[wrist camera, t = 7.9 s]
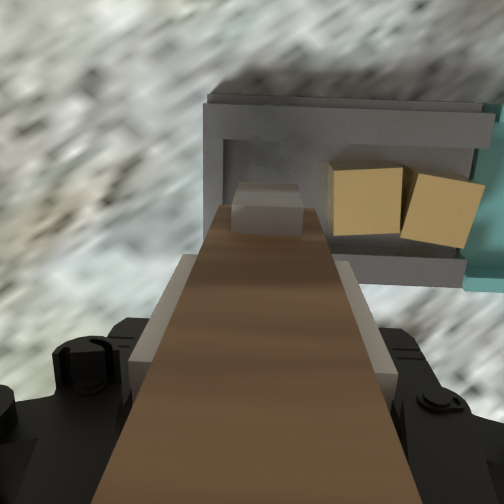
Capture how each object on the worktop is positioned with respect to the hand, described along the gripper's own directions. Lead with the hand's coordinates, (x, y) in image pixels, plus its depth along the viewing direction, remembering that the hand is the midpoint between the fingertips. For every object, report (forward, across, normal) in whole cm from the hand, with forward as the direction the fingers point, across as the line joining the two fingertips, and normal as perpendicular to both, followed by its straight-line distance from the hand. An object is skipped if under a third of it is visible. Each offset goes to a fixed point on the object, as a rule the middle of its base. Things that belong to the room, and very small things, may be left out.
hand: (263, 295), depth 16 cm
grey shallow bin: (+17, +4, 0) cm, 18 cm away
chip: (+16, +6, 0) cm, 17 cm away
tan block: (+16, +10, 0) cm, 19 cm away
